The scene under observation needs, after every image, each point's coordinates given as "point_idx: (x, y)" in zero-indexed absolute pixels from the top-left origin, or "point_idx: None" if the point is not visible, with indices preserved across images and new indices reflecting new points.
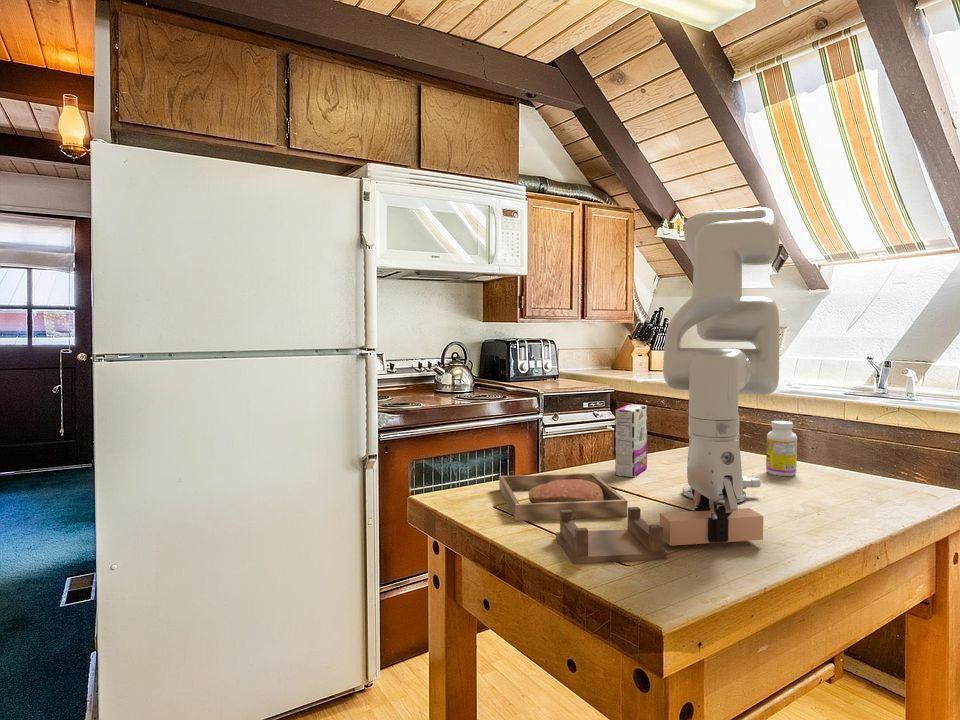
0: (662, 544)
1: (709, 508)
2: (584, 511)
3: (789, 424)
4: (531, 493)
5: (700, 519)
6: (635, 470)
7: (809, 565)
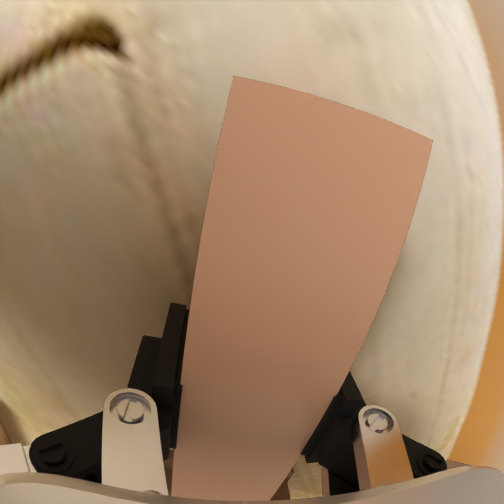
0: (288, 492)
1: (171, 406)
2: None
3: None
4: None
5: (286, 472)
6: None
7: (500, 139)
